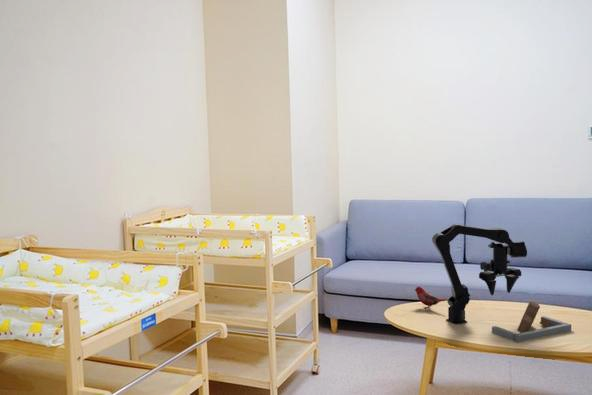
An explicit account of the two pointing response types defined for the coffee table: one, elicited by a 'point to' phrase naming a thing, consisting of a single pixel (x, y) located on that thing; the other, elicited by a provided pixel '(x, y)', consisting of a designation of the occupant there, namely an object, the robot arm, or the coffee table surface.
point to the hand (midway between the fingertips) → (500, 293)
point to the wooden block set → (531, 318)
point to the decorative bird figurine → (427, 297)
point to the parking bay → (534, 331)
